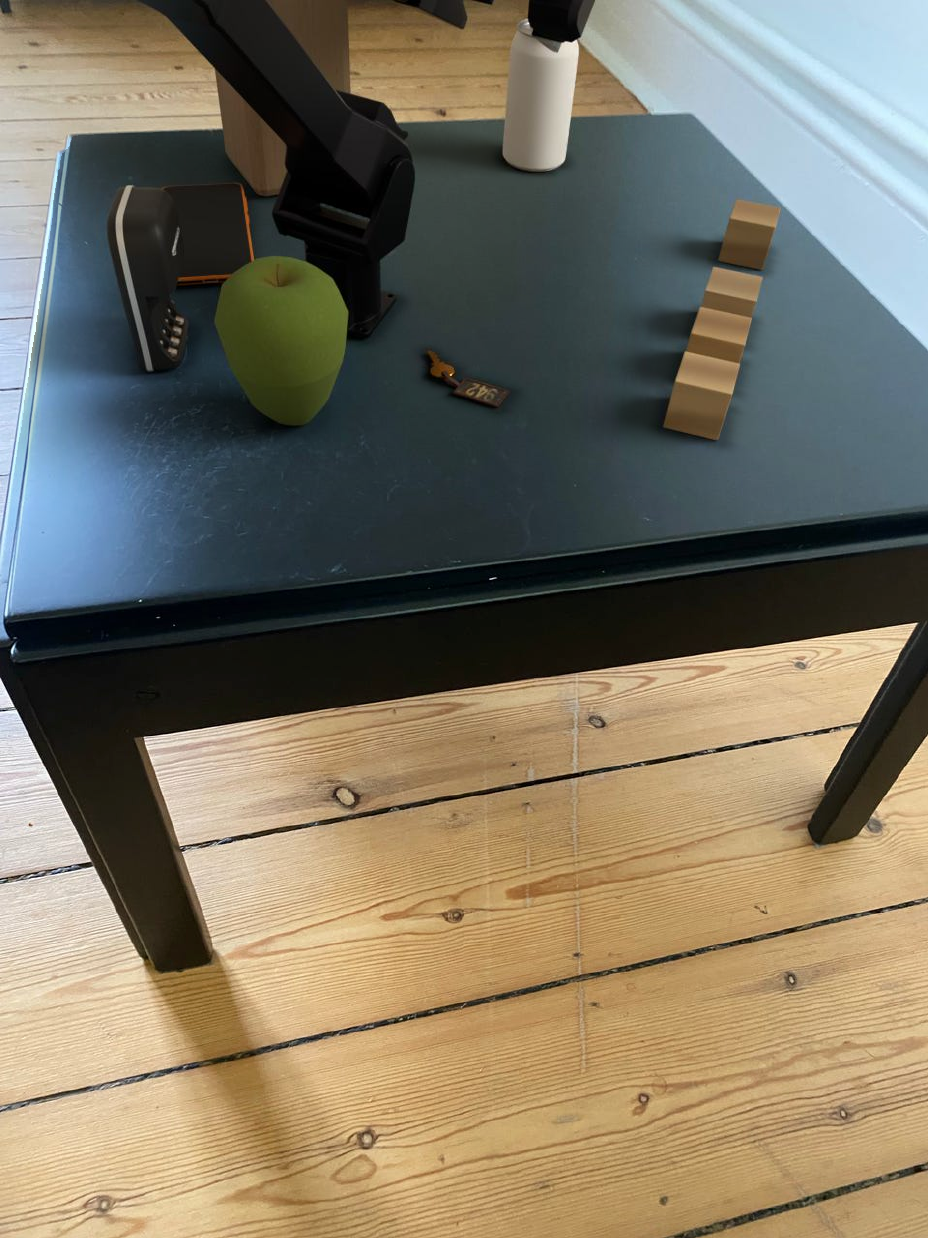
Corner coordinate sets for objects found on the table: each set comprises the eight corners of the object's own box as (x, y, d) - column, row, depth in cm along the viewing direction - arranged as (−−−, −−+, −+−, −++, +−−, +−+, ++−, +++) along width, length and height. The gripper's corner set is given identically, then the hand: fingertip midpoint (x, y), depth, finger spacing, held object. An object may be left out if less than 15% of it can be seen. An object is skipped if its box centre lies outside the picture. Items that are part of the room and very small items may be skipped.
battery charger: (191, 375, 70) (162, 225, 61) (138, 375, 70) (101, 224, 61) (201, 323, 75) (175, 176, 66) (151, 323, 74) (119, 175, 66)
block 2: (742, 346, 76) (756, 301, 73) (693, 335, 77) (705, 290, 74) (749, 321, 79) (762, 276, 76) (701, 310, 80) (713, 266, 77)
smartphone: (164, 288, 77) (162, 278, 77) (161, 194, 88) (159, 185, 87) (258, 281, 79) (257, 272, 78) (244, 190, 89) (243, 181, 89)
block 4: (717, 441, 68) (732, 394, 65) (662, 427, 69) (674, 380, 66) (725, 409, 71) (740, 363, 68) (672, 397, 71) (685, 350, 68)
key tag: (514, 395, 70) (515, 388, 70) (490, 413, 69) (490, 406, 68) (430, 351, 73) (430, 344, 73) (404, 367, 72) (404, 361, 71)
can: (527, 140, 100) (539, 10, 91) (577, 159, 98) (595, 28, 89) (489, 158, 97) (498, 26, 88) (540, 179, 94) (554, 44, 85)
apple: (218, 393, 69) (191, 240, 60) (329, 371, 71) (320, 221, 63) (250, 466, 64) (226, 311, 55) (369, 439, 66) (364, 286, 57)
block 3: (730, 391, 72) (745, 344, 69) (678, 379, 73) (690, 332, 70) (738, 363, 75) (752, 317, 72) (687, 351, 75) (699, 305, 72)
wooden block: (224, 158, 94) (190, -89, 79) (319, 143, 97) (304, -97, 82) (258, 202, 88) (229, -55, 73) (357, 184, 92) (349, -65, 76)
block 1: (762, 270, 85) (775, 227, 82) (717, 261, 85) (729, 217, 82) (767, 250, 87) (781, 207, 84) (724, 241, 88) (736, 198, 85)
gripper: (618, -191, 64) (647, -37, 79) (383, -229, 70) (451, -78, 84) (555, -27, 65) (594, 94, 80) (328, -77, 71) (405, 46, 86)
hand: (510, 34), depth 83 cm, fingers open, 9 cm apart
